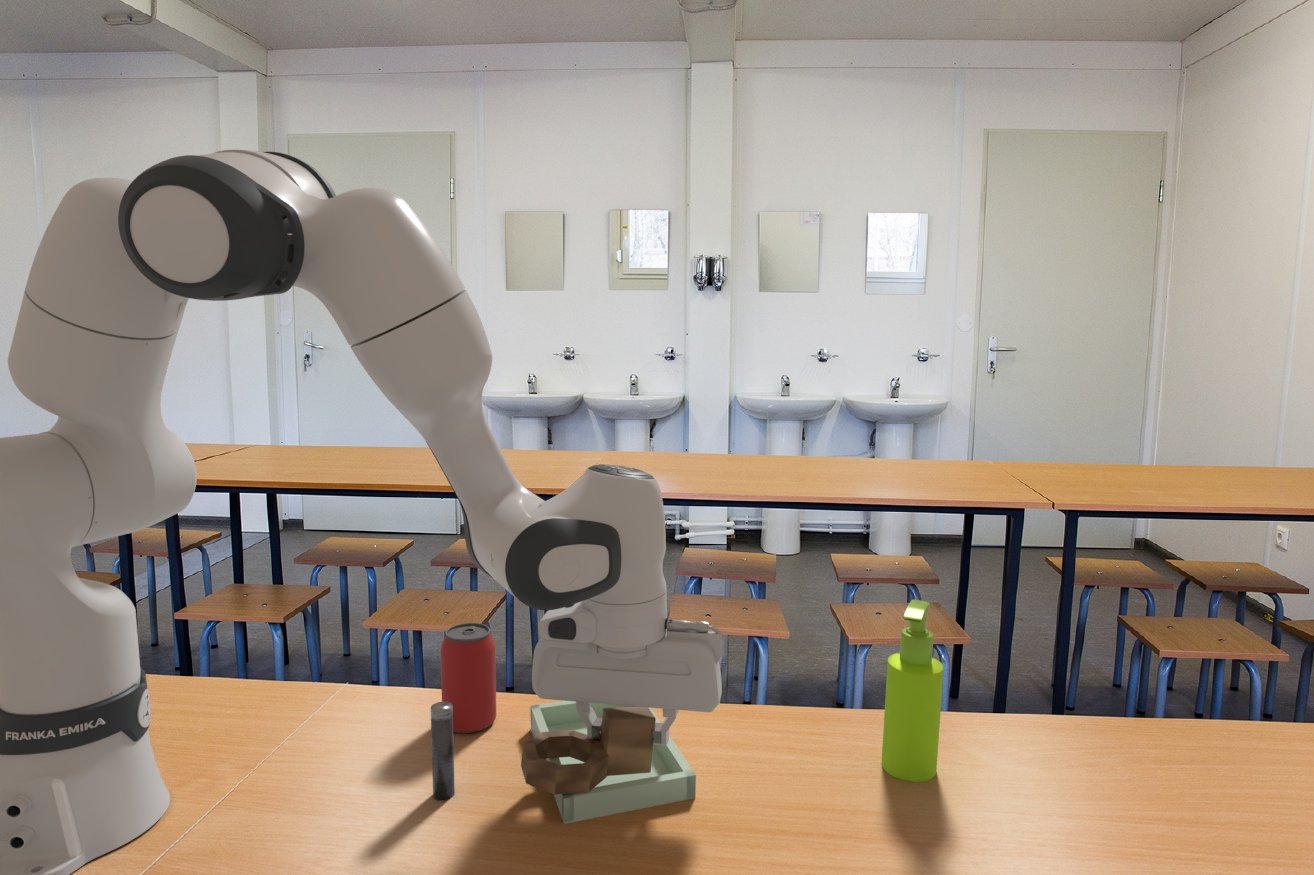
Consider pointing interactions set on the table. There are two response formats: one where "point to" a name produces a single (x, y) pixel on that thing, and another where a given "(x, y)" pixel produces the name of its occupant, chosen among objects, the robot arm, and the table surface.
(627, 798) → the tray
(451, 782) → the dark grey metal cylinder
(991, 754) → the table surface
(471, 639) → the beer can
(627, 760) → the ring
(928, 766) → the soap dispenser
